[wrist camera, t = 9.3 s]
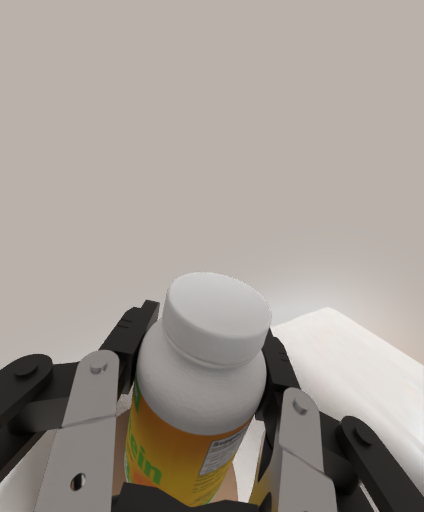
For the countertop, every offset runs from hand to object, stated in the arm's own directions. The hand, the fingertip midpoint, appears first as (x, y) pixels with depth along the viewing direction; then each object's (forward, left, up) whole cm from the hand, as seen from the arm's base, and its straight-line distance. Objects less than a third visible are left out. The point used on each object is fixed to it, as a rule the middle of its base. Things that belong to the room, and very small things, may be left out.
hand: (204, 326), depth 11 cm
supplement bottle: (+1, +2, -6) cm, 7 cm away
